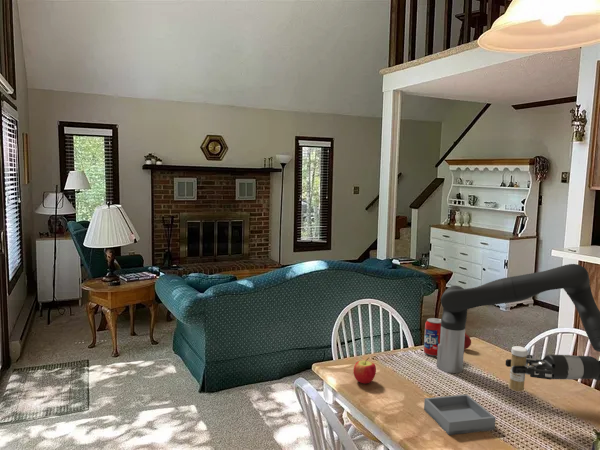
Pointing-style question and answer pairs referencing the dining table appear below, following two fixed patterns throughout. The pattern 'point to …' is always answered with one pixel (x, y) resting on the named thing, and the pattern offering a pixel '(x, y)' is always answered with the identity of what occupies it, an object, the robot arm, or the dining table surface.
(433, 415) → the bin
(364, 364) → the apple
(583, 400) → the dining table surface
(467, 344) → the onion
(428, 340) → the soda can
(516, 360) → the sprinkles bottle
